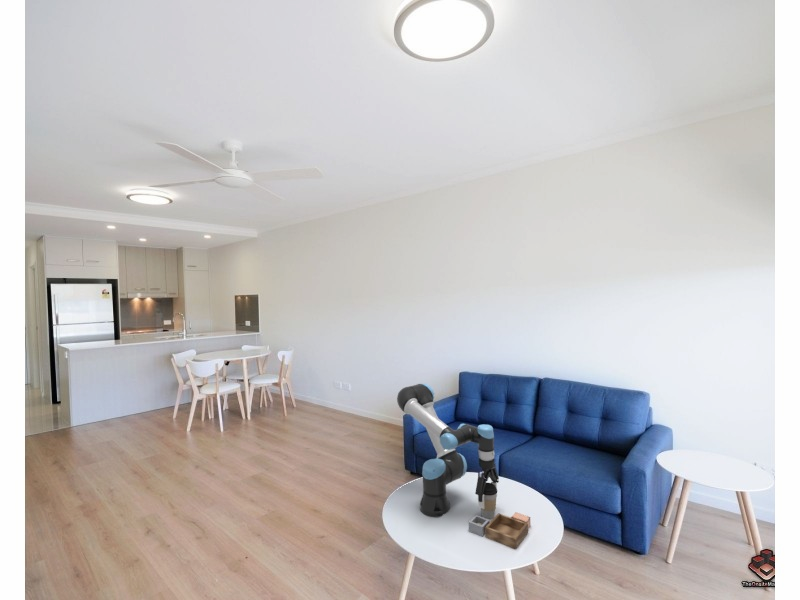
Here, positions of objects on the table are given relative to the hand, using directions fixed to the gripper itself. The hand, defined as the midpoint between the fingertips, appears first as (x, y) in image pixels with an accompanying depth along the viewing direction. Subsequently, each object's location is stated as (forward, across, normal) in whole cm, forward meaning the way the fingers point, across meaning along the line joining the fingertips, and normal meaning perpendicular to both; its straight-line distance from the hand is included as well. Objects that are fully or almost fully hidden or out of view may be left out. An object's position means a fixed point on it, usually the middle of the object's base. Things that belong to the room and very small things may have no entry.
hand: (488, 501), depth 187 cm
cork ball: (+7, -13, -2) cm, 15 cm away
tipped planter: (+8, +1, -16) cm, 18 cm away
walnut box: (+8, -9, -13) cm, 18 cm away
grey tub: (+8, -13, -2) cm, 15 cm away
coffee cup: (+8, 0, 0) cm, 8 cm away
